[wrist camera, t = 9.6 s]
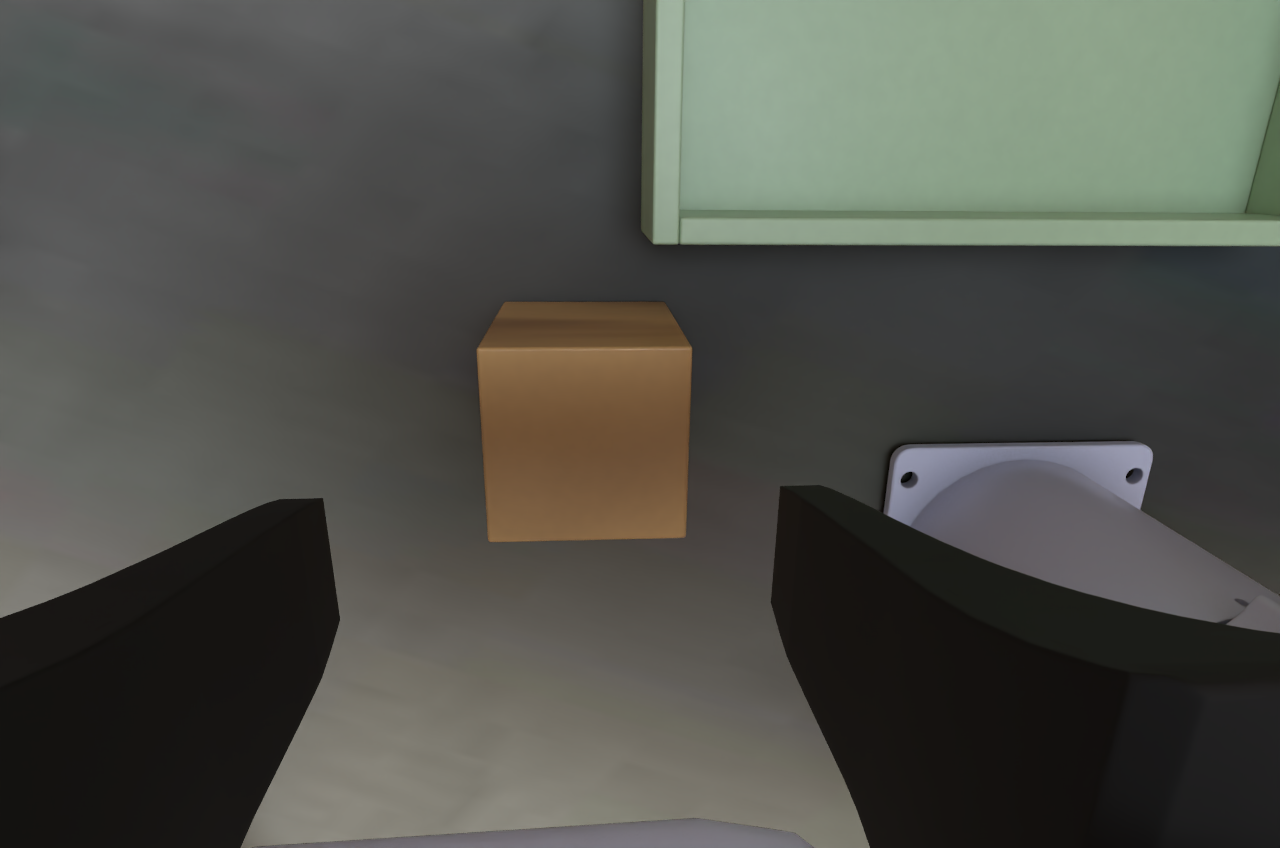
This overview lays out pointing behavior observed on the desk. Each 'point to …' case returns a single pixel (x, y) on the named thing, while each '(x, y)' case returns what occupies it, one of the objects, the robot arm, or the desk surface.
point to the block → (585, 421)
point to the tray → (961, 122)
